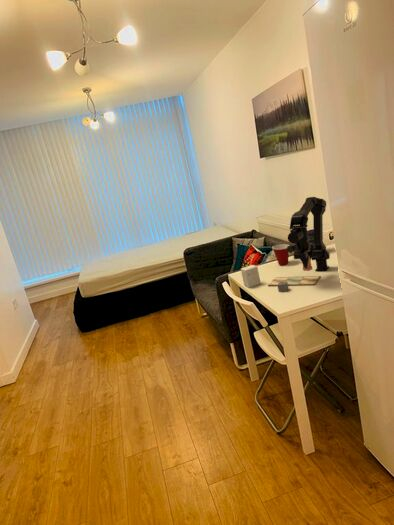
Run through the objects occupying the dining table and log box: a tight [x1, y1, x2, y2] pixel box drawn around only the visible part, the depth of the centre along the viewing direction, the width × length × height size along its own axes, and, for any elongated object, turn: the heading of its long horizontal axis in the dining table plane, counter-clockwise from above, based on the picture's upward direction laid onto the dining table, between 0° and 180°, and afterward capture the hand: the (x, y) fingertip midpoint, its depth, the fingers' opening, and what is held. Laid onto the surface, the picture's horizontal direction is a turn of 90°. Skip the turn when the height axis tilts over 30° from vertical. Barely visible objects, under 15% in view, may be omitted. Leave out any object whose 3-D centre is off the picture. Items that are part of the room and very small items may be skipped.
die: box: [277, 282, 290, 293], centre depth 199 cm, size 4×4×4 cm
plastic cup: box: [271, 243, 291, 266], centre depth 240 cm, size 11×11×12 cm
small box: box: [240, 264, 262, 289], centre depth 217 cm, size 8×6×10 cm
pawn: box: [302, 256, 313, 272], centre depth 201 cm, size 5×5×8 cm
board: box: [267, 275, 321, 287], centre depth 208 cm, size 12×26×1 cm, turn 58°
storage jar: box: [307, 228, 314, 243], centre depth 246 cm, size 10×10×15 cm
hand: (307, 266), depth 202 cm, fingers closed on pawn, 4 cm apart
